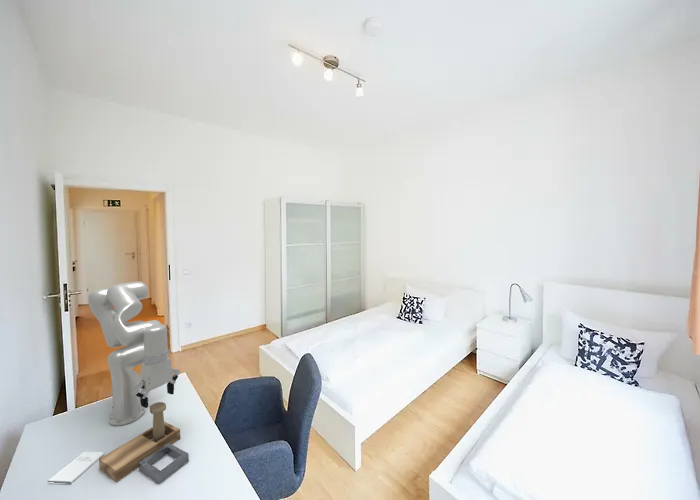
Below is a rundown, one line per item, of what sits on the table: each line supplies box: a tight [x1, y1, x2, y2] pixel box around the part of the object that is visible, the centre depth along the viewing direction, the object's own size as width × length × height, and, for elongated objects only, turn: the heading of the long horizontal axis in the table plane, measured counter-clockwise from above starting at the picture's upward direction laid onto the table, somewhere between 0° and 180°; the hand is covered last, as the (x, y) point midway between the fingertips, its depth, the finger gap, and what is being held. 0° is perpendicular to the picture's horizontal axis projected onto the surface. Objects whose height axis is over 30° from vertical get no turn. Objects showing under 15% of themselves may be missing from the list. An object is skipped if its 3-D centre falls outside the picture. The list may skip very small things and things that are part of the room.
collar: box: [138, 443, 190, 485], centre depth 102 cm, size 12×10×3 cm
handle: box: [149, 401, 167, 443], centre depth 112 cm, size 5×6×15 cm
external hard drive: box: [46, 451, 105, 485], centre depth 100 cm, size 2×8×12 cm
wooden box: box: [98, 421, 181, 483], centre depth 107 cm, size 11×22×4 cm, turn 155°
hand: (158, 399), depth 111 cm, fingers open, 9 cm apart
